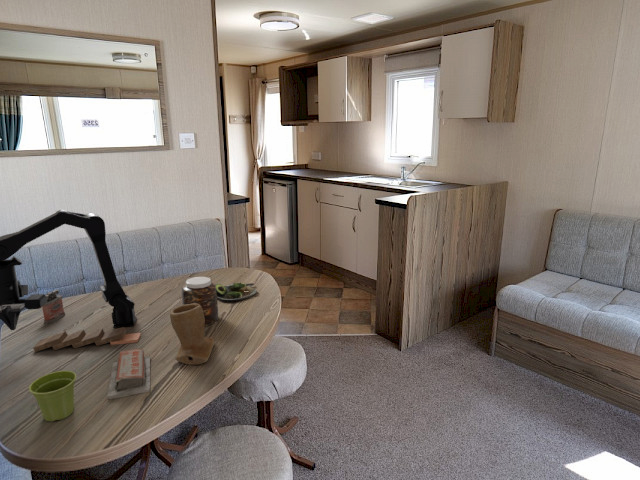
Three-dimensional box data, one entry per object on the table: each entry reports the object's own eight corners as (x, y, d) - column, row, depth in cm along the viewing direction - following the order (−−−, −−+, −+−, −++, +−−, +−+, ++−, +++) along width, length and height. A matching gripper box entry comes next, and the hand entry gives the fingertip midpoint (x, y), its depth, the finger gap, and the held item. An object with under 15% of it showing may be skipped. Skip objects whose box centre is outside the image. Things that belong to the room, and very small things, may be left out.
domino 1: (42, 344, 132) (67, 335, 133) (35, 352, 128) (61, 342, 128) (40, 340, 132) (65, 330, 133) (32, 347, 127) (59, 338, 128)
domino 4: (101, 338, 136) (126, 330, 137) (96, 346, 131) (122, 338, 132) (99, 334, 135) (124, 326, 137) (94, 341, 131) (120, 333, 132)
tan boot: (180, 342, 133) (175, 298, 129) (217, 341, 134) (214, 297, 130) (165, 368, 118) (160, 319, 115) (207, 367, 119) (203, 318, 115)
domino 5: (115, 339, 137) (141, 337, 138) (110, 346, 132) (137, 344, 134) (114, 335, 136) (140, 332, 138) (110, 342, 132) (137, 339, 133)
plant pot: (25, 421, 97) (19, 388, 95) (63, 398, 105) (57, 367, 103) (54, 431, 94) (48, 397, 91) (90, 406, 102) (85, 374, 100)
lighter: (49, 323, 147) (45, 297, 144) (41, 322, 148) (36, 296, 145) (67, 314, 155) (63, 288, 152) (59, 313, 155) (55, 288, 153)
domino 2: (60, 342, 133) (85, 333, 134) (54, 350, 129) (80, 341, 129) (58, 338, 133) (83, 329, 134) (52, 346, 128) (77, 336, 129)
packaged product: (111, 350, 120) (148, 344, 123) (113, 366, 121) (150, 359, 124) (105, 384, 103) (148, 376, 107) (107, 402, 104) (150, 393, 108)
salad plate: (243, 282, 187) (242, 273, 186) (267, 293, 175) (267, 282, 174) (204, 294, 174) (203, 283, 173) (227, 306, 162) (226, 295, 161)
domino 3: (79, 341, 134) (104, 332, 136) (74, 348, 130) (100, 340, 131) (77, 336, 134) (102, 328, 135) (71, 344, 129) (98, 335, 130)
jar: (217, 311, 156) (214, 273, 152) (219, 324, 145) (216, 284, 142) (184, 315, 153) (180, 276, 149) (184, 329, 142) (180, 288, 138)
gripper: (51, 270, 133) (57, 316, 136) (-17, 274, 129) (-8, 321, 132) (35, 282, 122) (43, 331, 126) (-38, 286, 118) (-28, 337, 122)
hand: (13, 329), depth 127 cm, fingers closed
